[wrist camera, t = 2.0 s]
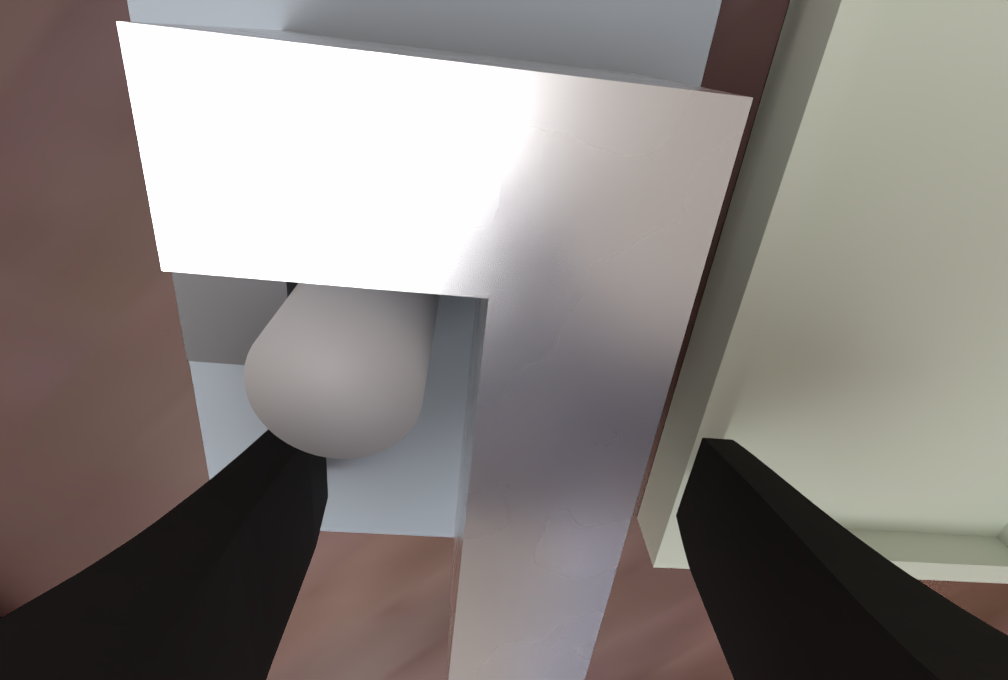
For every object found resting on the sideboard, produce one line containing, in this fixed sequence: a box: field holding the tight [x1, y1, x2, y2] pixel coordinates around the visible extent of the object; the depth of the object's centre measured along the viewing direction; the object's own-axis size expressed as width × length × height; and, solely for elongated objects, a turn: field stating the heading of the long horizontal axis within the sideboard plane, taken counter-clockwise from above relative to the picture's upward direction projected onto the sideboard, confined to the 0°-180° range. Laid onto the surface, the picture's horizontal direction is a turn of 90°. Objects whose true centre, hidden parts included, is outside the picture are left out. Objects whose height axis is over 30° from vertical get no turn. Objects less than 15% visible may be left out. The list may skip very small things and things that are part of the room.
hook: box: [116, 21, 753, 680], centre depth 8 cm, size 9×5×4 cm, turn 174°
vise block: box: [127, 0, 722, 537], centre depth 9 cm, size 12×8×6 cm, turn 174°
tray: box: [637, 0, 1008, 584], centre depth 12 cm, size 14×10×2 cm
